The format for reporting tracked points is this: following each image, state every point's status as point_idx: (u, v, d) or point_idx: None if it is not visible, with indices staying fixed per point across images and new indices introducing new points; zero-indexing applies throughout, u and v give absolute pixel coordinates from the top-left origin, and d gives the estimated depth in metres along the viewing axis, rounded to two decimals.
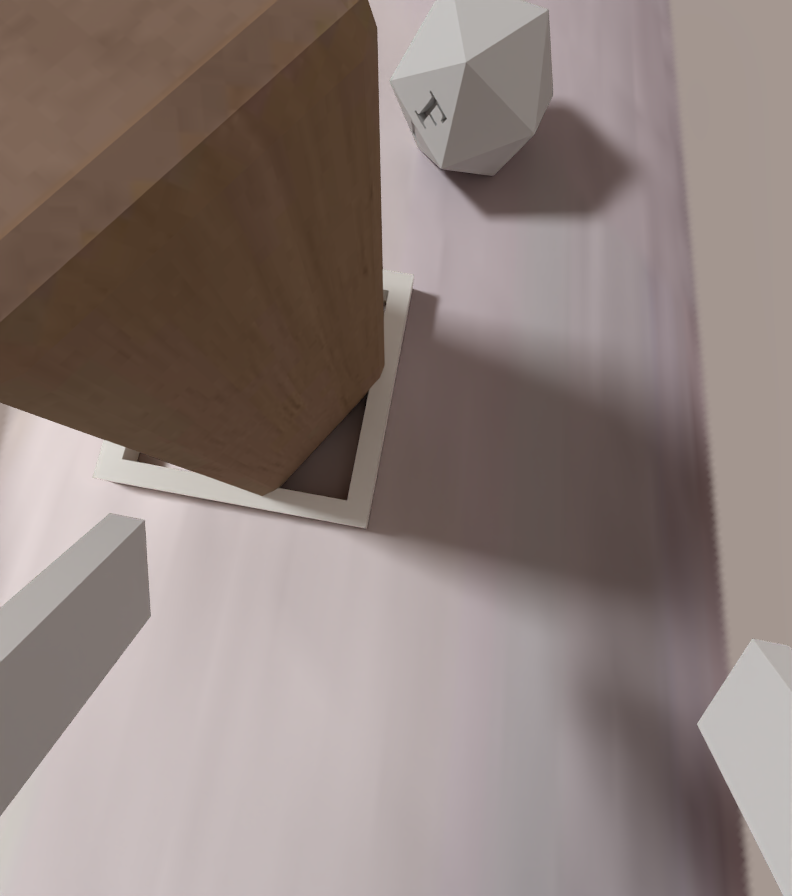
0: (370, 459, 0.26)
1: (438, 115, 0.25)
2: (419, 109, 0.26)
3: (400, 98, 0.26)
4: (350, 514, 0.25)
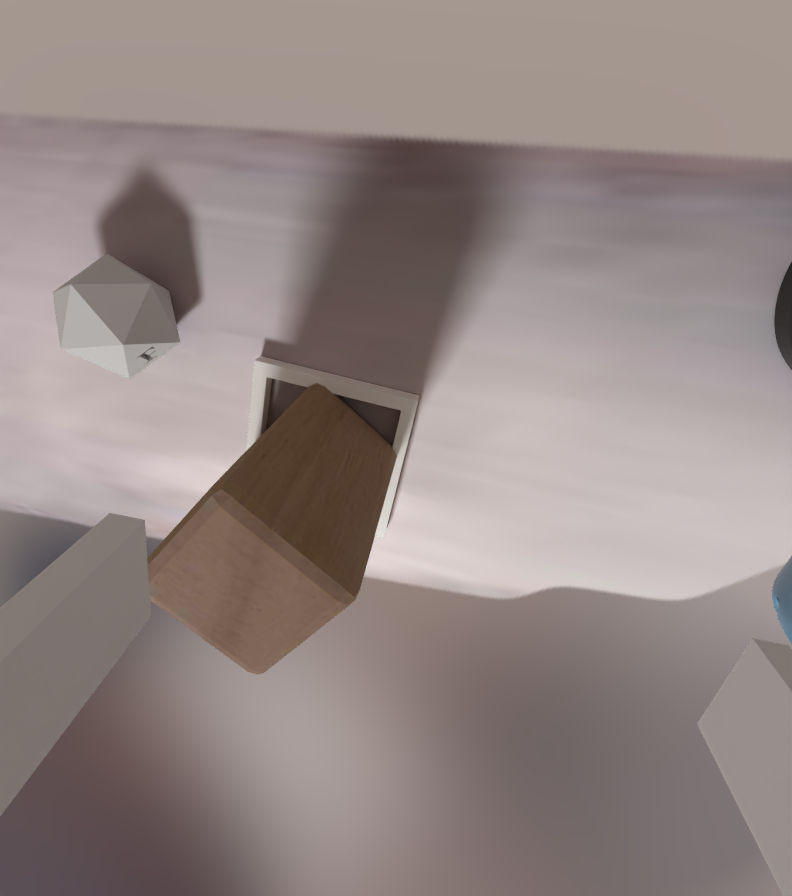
0: (376, 395, 0.41)
1: (150, 350, 0.38)
2: (146, 360, 0.39)
3: (139, 371, 0.40)
4: (409, 409, 0.42)
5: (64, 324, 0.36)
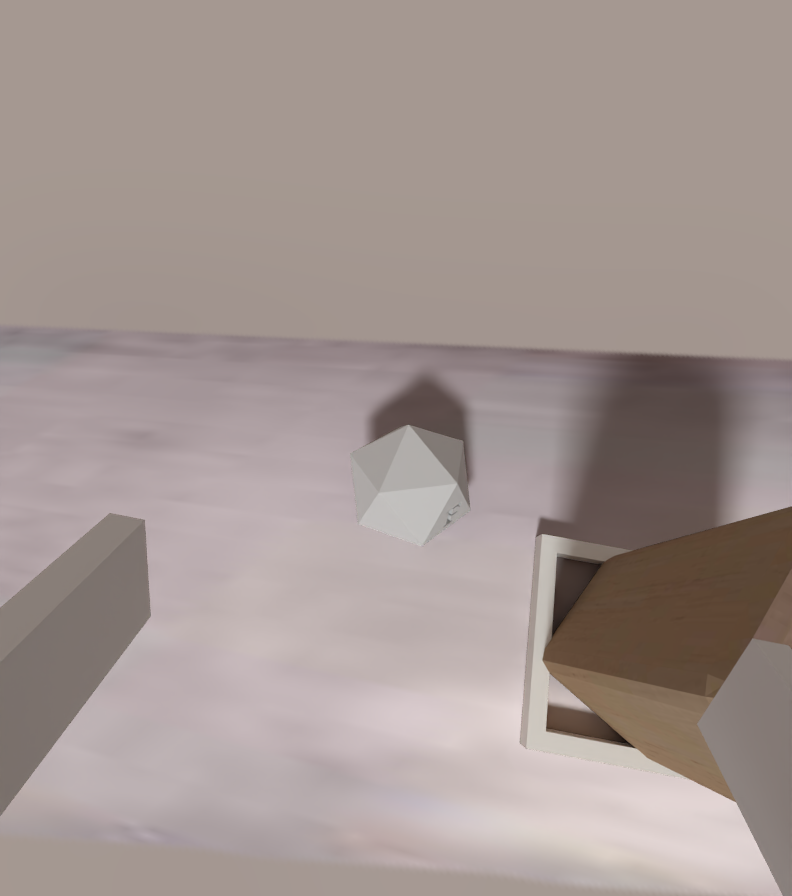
0: None
1: (456, 508, 0.34)
2: (445, 523, 0.34)
3: (431, 538, 0.34)
4: None
5: (390, 465, 0.32)
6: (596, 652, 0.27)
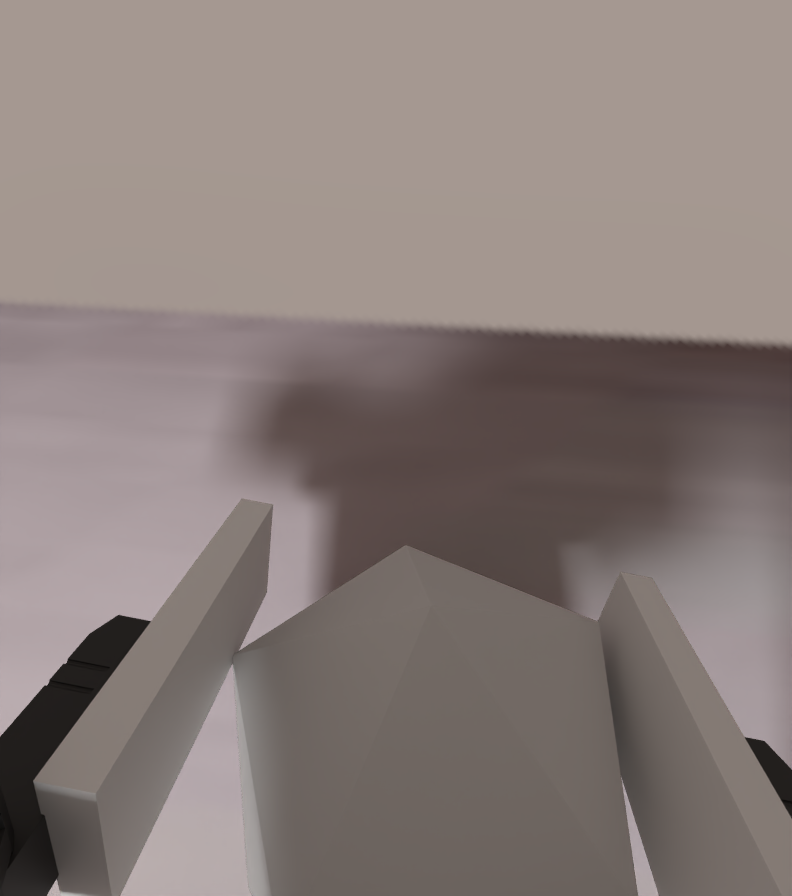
0: None
1: None
2: None
3: None
4: None
5: (345, 799, 0.07)
6: None
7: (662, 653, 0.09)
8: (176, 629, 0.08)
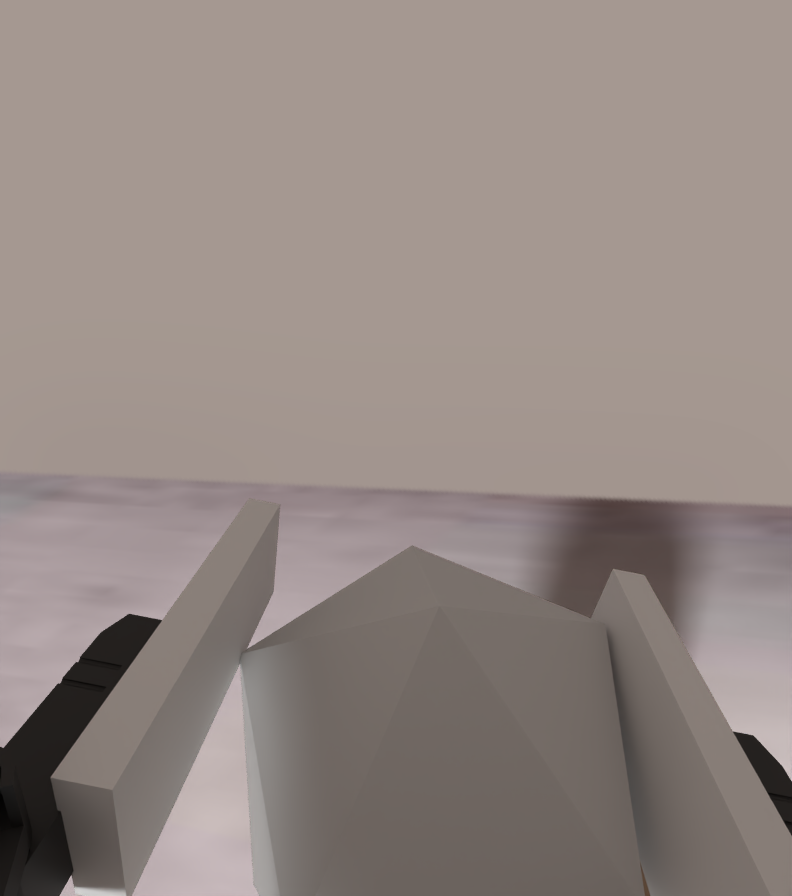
0: None
1: None
2: None
3: None
4: None
5: (353, 798, 0.07)
6: None
7: (653, 649, 0.09)
8: (187, 628, 0.08)
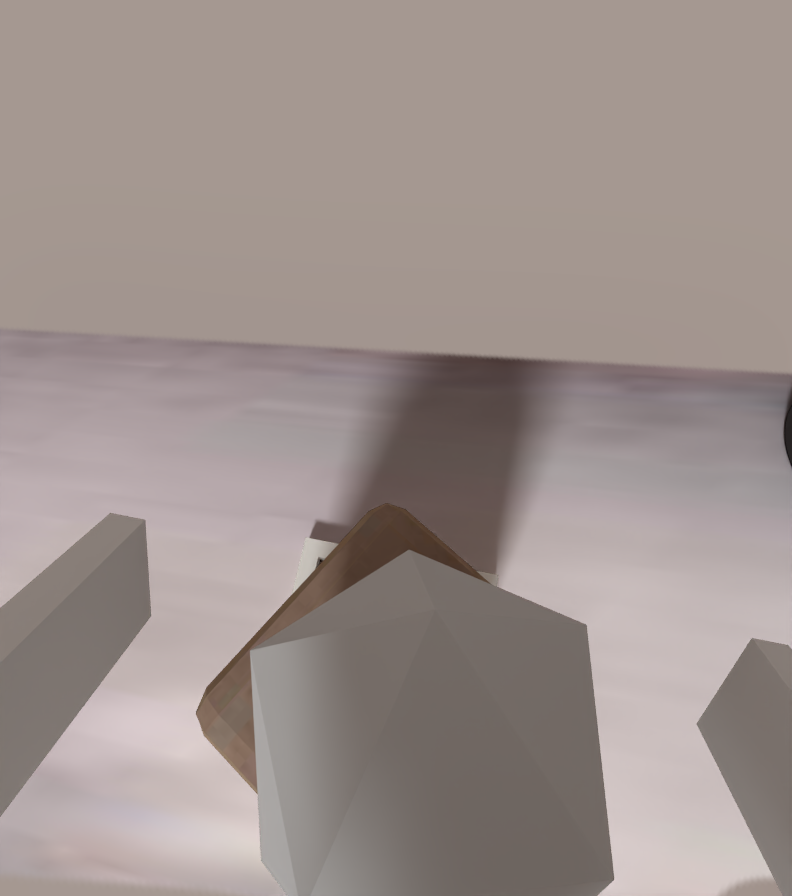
0: None
1: None
2: None
3: None
4: None
5: (357, 779, 0.08)
6: None
7: None
8: None
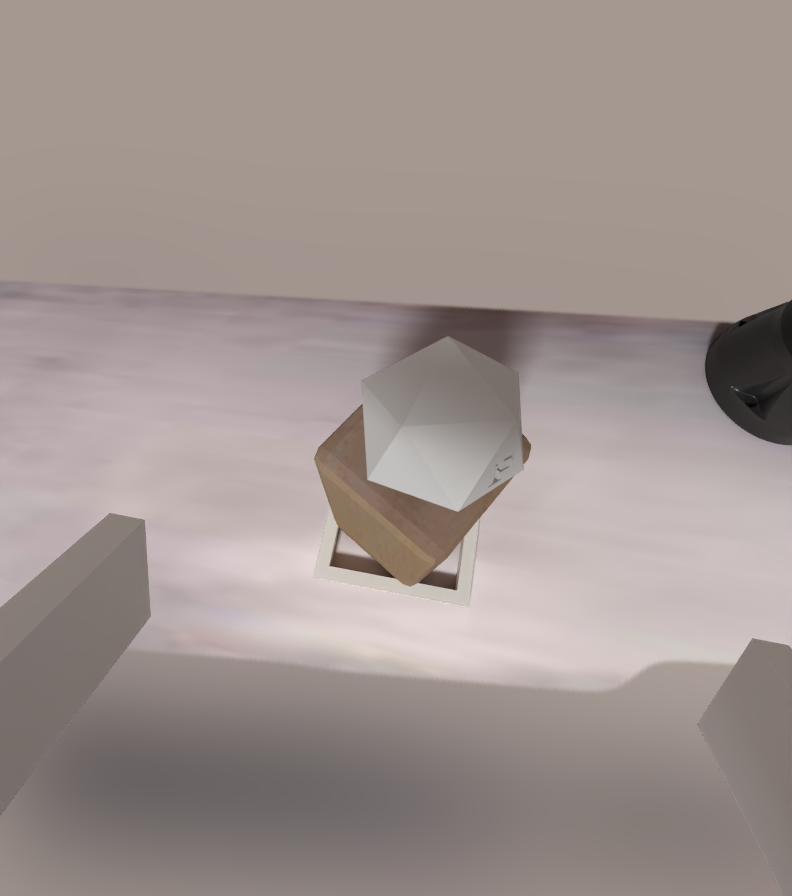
0: None
1: (508, 461, 0.24)
2: (491, 481, 0.24)
3: (471, 502, 0.24)
4: None
5: (419, 390, 0.22)
6: None
7: None
8: None
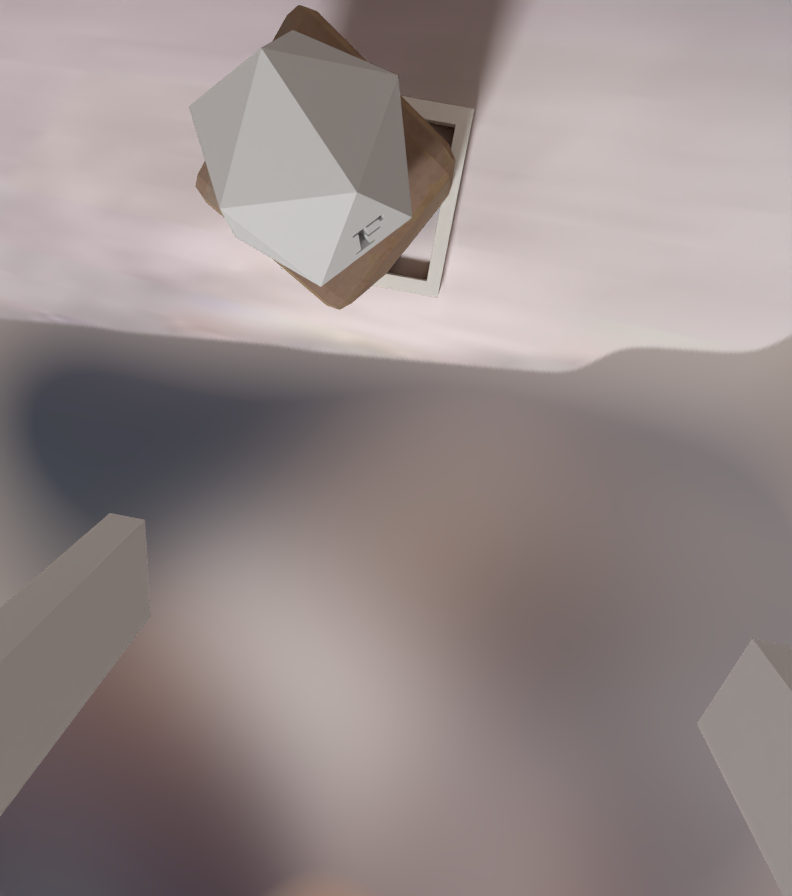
0: (428, 107, 0.38)
1: (374, 224, 0.20)
2: (358, 248, 0.21)
3: (338, 272, 0.21)
4: (464, 121, 0.38)
5: (233, 150, 0.17)
6: None
7: None
8: None
